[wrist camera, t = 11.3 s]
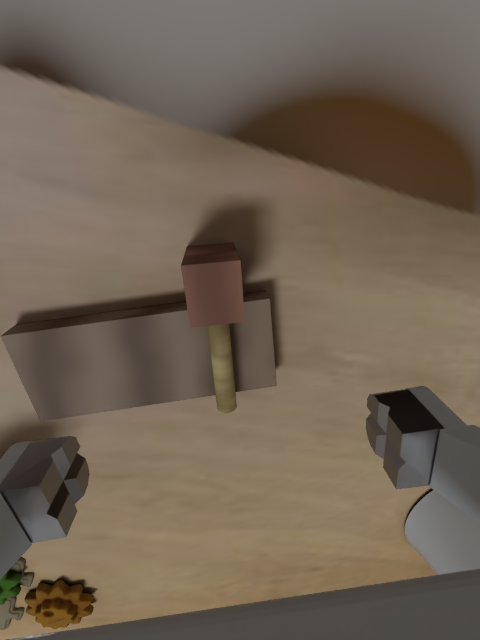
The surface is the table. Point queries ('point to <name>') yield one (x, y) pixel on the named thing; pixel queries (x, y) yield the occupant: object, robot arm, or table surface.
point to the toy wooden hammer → (215, 308)
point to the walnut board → (135, 358)
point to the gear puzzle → (42, 600)
